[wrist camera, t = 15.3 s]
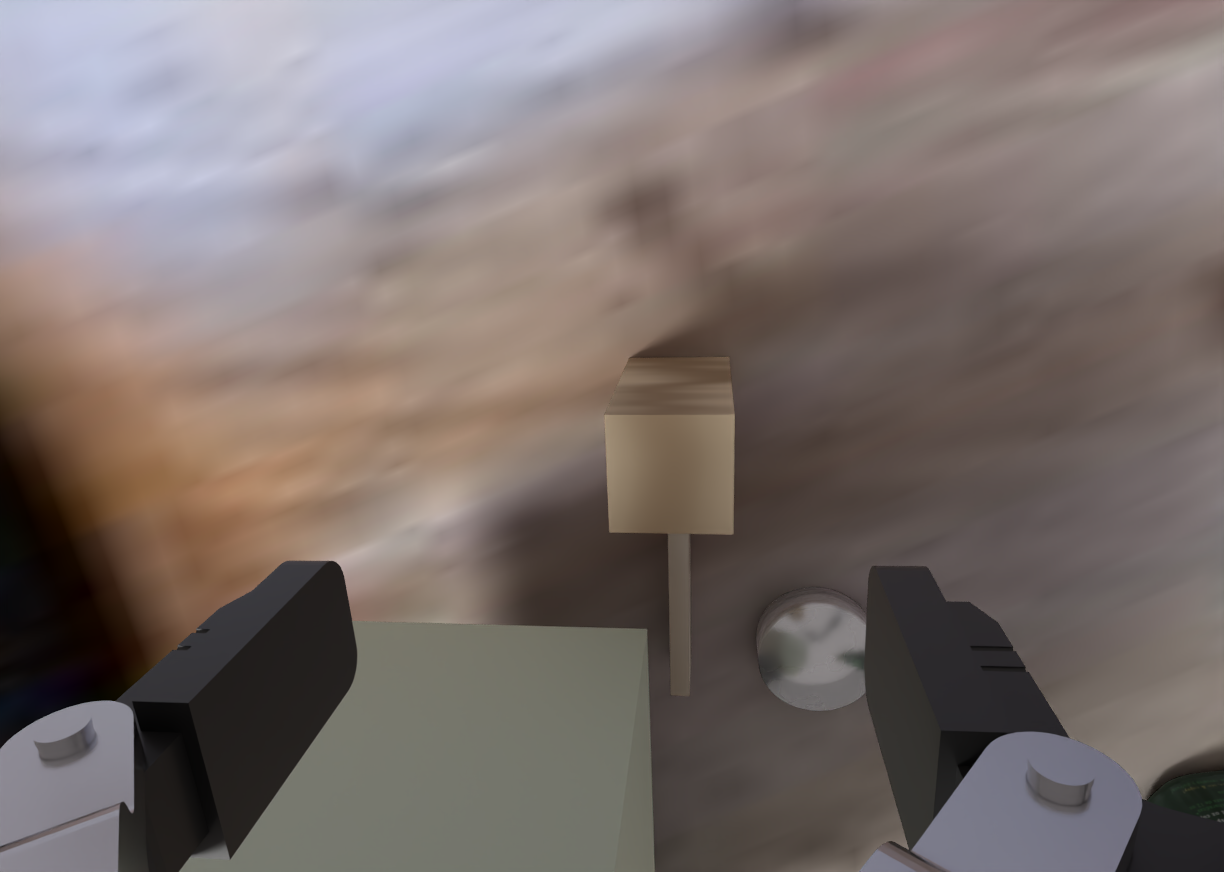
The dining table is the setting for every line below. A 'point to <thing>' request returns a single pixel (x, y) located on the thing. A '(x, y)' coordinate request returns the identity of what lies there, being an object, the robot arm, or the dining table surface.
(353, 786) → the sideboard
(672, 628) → the wooden mallet
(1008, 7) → the dining table surface
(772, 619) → the steel puck
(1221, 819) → the coffee jar
